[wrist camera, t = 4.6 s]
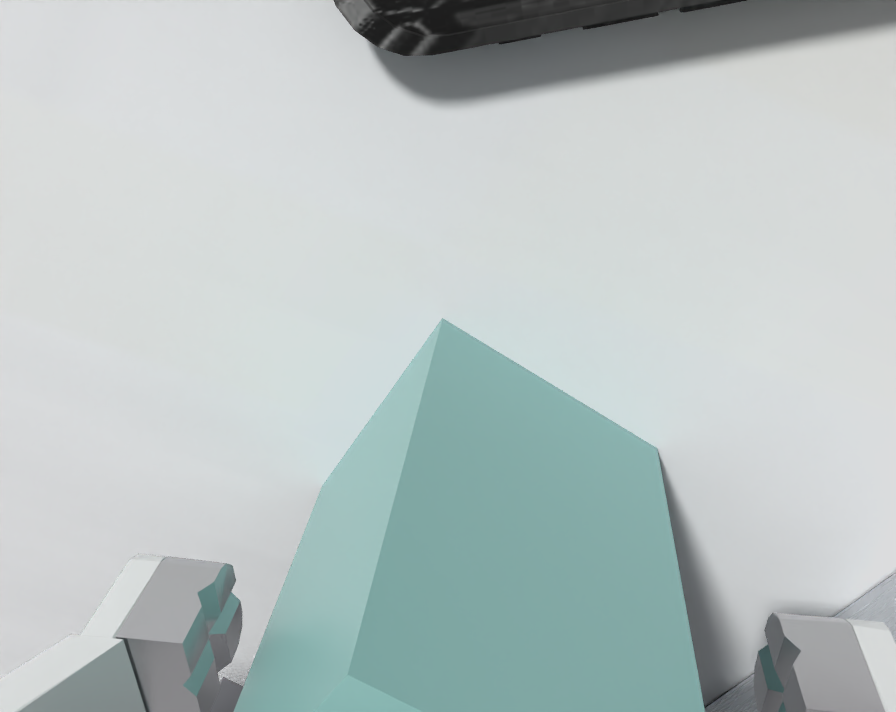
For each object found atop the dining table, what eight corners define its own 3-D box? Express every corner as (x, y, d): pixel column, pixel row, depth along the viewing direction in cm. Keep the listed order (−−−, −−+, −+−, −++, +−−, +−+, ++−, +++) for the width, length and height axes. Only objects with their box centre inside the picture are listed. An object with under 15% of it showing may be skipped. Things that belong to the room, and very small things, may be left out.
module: (513, 588, 16) (489, 1000, 10) (322, 485, 15) (172, 865, 9) (657, 447, 14) (732, 866, 8) (442, 318, 13) (346, 675, 7)
